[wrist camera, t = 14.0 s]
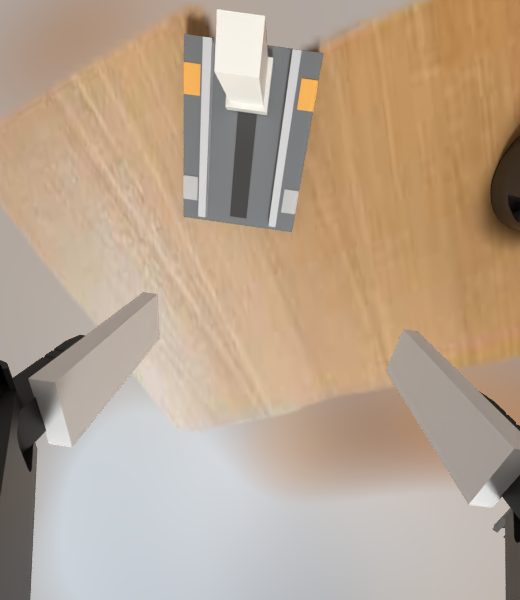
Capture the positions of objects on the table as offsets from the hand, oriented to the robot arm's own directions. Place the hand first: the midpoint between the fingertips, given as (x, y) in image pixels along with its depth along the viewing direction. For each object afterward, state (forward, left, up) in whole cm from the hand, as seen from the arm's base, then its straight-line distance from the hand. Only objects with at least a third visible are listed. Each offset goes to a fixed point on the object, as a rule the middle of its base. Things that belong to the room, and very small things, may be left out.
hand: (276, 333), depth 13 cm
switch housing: (+6, -12, -29) cm, 32 cm away
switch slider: (+6, -18, -25) cm, 32 cm away
